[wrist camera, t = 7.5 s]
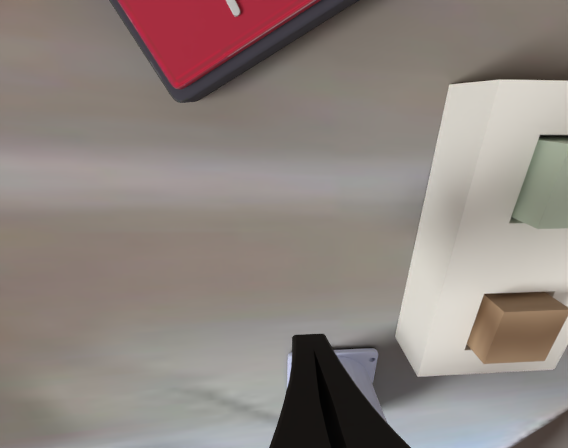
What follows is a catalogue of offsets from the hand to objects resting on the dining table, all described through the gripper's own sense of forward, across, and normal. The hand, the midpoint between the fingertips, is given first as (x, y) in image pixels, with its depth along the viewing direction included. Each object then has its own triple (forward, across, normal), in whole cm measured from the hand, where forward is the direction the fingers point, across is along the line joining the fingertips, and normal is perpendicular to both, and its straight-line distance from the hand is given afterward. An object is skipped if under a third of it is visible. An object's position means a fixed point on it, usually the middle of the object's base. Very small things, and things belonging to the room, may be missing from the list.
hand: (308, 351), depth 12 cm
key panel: (+9, -15, -1) cm, 18 cm away
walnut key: (+7, -15, +4) cm, 17 cm away
